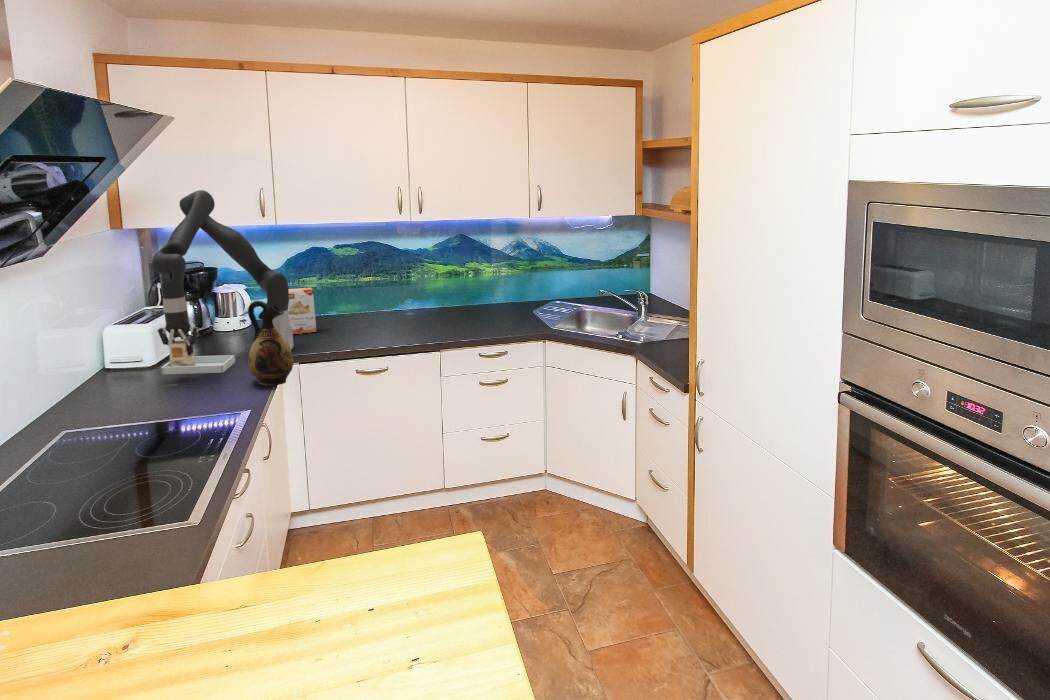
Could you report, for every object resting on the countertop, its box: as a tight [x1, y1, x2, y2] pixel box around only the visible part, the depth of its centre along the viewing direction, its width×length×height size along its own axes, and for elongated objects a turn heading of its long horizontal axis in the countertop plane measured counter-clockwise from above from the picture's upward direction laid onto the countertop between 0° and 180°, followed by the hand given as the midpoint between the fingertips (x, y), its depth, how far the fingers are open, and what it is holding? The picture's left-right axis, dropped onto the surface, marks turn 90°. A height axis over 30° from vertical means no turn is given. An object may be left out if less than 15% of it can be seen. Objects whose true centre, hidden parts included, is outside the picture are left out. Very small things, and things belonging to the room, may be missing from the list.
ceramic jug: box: [247, 300, 294, 387], centre depth 250 cm, size 17×15×30 cm
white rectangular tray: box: [160, 354, 237, 376], centre depth 269 cm, size 23×15×4 cm, turn 95°
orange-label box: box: [168, 339, 193, 361], centre depth 253 cm, size 7×5×6 cm
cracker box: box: [288, 287, 317, 336], centre depth 322 cm, size 14×6×21 cm, turn 114°
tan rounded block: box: [169, 351, 195, 367], centre depth 268 cm, size 7×5×6 cm
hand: (182, 354), depth 254 cm, fingers closed on orange-label box, 5 cm apart
